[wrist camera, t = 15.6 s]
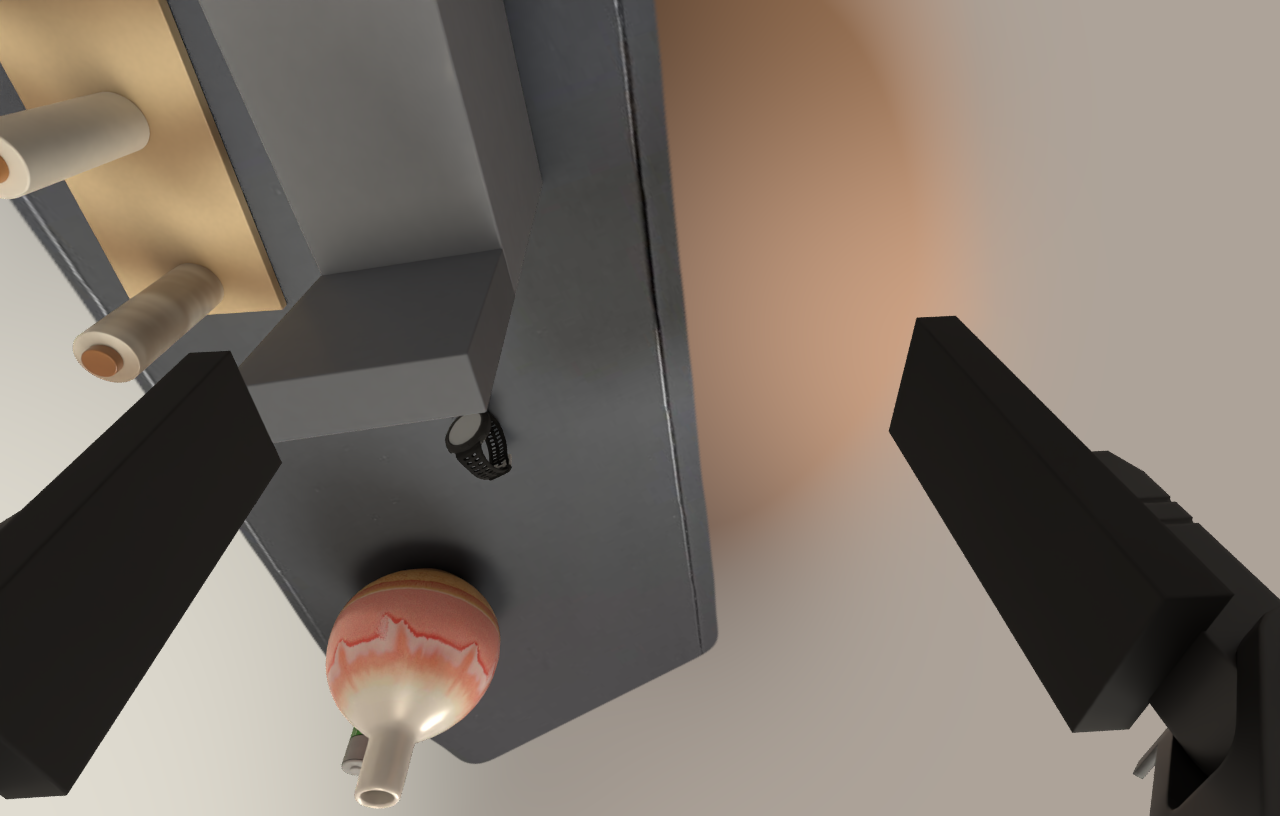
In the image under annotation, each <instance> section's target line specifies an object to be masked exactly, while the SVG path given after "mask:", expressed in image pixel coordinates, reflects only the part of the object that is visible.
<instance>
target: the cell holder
mask: <svg viewBox="0 0 1280 816" xmlns="http://www.w3.org/2000/svg"><path fill="white" fill-rule="evenodd" d="M0 62H1V64H2V66H3V68H4V69H5V71H6V73H7V75H8V77H9V79H10V80H11V82H12V84H13V86H14V88H15V90H16V91H17V93H18V95H19V97H20V99H21V101H22V102H23V104H24V106H25V108H26V110H28V109H33V108H37V107H41V106H45V105H49V104H53V103H57V102H61V101H66V100H70V99H74V98H78V97H82V96H86V95H90V94H95V93H99V92H112V93H116V94H118V95H121V96H123V97H125V98H127V99H128V100H130V101H131V102H132V103H133V104H135V105H136V106H137V107H138V108H139V110H140V111H141V112H142V113H143V115H144V116H145V118H146V120H147V123H148V126H149V130H150V136H149V140H148V143H147V145H146V146H145V147H144V148H143V149H141V150H139V151H136V152H134V153H131V154H129V155H126V156H123V157H121V158H118V159H116V160H113V161H111V162H108V163H106V164H103V165H100V166H98V167H95V168H93V169H90V170H88V171H85V172H82V173H80V174H77V175H75V176H72V177H70V178H67V179H65V181H66V183H67V185H68V187H69V188H70V190H71V192H72V194H73V196H74V198H75V199H76V201H77V203H78V205H79V207H80V208H81V210H82V212H83V214H84V216H85V218H86V219H87V221H88V223H89V225H90V227H91V229H92V230H93V232H94V234H95V236H96V238H97V240H98V241H99V243H100V245H101V247H102V249H103V251H104V252H105V254H106V256H107V258H108V260H109V262H110V263H111V265H112V267H113V269H114V271H115V272H116V274H117V276H118V278H119V280H120V282H121V283H122V285H123V287H124V289H125V291H126V293H127V294H128V296H129V298H130V300H128V301H127V302H125V303H124V304H122V305H121V306H120V307H118V308H117V309H115V310H114V311H112V312H111V313H110V314H108V315H107V316H105V317H104V318H103V319H101V320H100V321H98V322H97V323H95V324H94V325H93V326H91V327H90V328H88V329H87V330H86V331H84V332H83V333H81V334H80V335H78V336H77V338H76V339H75V340H74V343H73V352H74V355H75V357H76V359H77V361H78V362H79V363H80V365H82V367H83V368H85V369H86V370H87V371H88V372H89V373H91V374H92V375H94V376H96V377H98V378H100V379H103V380H106V381H110V382H117V383H118V382H127V381H130V380H133V379H134V378H136V377H137V376H138V375H139V374H140V373H141V372H142V371H143V370H145V369H146V368H147V367H148V366H149V365H150V364H151V363H153V362H154V361H155V360H156V359H157V358H158V357H159V356H160V355H162V354H163V353H164V352H165V351H166V350H167V349H168V348H170V347H171V346H172V345H173V344H174V343H175V342H176V341H178V340H179V339H180V338H181V337H182V336H183V335H184V334H185V333H187V332H188V331H189V330H190V329H191V328H192V327H193V326H195V325H196V324H197V323H198V322H199V321H200V320H201V319H202V318H204V317H205V316H206V315H209V314H224V313H239V312H254V311H269V310H282V309H283V308H284V307H285V306H286V305H287V304H286V301H285V299H284V296H283V293H282V291H281V288H280V286H279V283H278V281H277V278H276V276H275V273H274V271H273V268H272V266H271V263H270V261H269V258H268V256H267V253H266V251H265V248H264V246H263V243H262V240H261V238H260V235H259V233H258V230H257V228H256V225H255V223H254V220H253V218H252V215H251V213H250V210H249V208H248V205H247V203H246V200H245V198H244V195H243V192H242V190H241V187H240V185H239V182H238V180H237V177H236V175H235V172H234V170H233V167H232V165H231V162H230V160H229V157H228V155H227V152H226V150H225V147H224V144H223V142H222V139H221V137H220V134H219V132H218V129H217V127H216V124H215V122H214V119H213V117H212V114H211V112H210V109H209V107H208V104H207V102H206V99H205V97H204V94H203V91H202V89H201V86H200V84H199V81H198V79H197V76H196V74H195V71H194V69H193V66H192V64H191V61H190V59H189V56H188V54H187V51H186V49H185V46H184V43H183V41H182V38H181V36H180V33H179V31H178V28H177V26H176V23H175V21H174V18H173V16H172V13H171V11H170V8H169V6H168V3H167V1H166V0H0Z"/></svg>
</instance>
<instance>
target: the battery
mask: <svg viewBox="0 0 1280 816" xmlns="http://www.w3.org/2000/svg"><path fill="white" fill-rule="evenodd" d="M368 741H369V738H368V737H366V736H365V735H364V734H362V733H361V732H360V731H359V730H358V729H356V728H355V727H354V728H353V732H352V734H351V738H350V741H349V744H348V747H347V750H346V753H345V756H344V759H343V762H342V769H343V771H344V772H346V773H348V774H351V775H357V776H359V774H360V770H361V767H362V763H363V759H364V756H365V752H366V748H367V745H368Z"/></svg>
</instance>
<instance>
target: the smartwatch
mask: <svg viewBox="0 0 1280 816" xmlns="http://www.w3.org/2000/svg"><path fill="white" fill-rule="evenodd" d="M491 421H493V423H491ZM494 424H495V425H496V426H494V427H491V426H493V425H494ZM496 428H497V429H498V430H496V431H495V432H494V431H493V430H494V429H496ZM498 431H499V434H497V435H495V433H496V432H498ZM489 432H491V433H490V434H489ZM490 435H491V436H493V437H491V438H488V436H490ZM499 435H500V436H501V437H500V438H499V439H497V437H498V436H499ZM491 439H494V441H493V442H490V440H491ZM500 439H502V441H501V442H499V443H498V441H499V440H500ZM484 440H485V441H486V444H487V447H488V452H489V461H488V460H487V459H486V457H485V456H484V454H483V451H482V448H481V445H482V443H483V442H484ZM445 443H446V447H447V449H448V451H449V452H450V453H455V454H456V458H457V460H458V461H459V462H460V463H461V464H462V465H463V466H464V467H465V468H466V469H468V470H469V471H470V472H471V473H472V474H473V475H474V476H476V477H478V478H480V479H483V480H487V479H489V480H493V479H496V478H498V477H500V476H502V475H504V474H506V473H508V472H509V471H510V470H511V468H512V466H511V460H512V457H511V454H507V444H506V439H505V436H504V433H503V430H502V428H501V426H500V424H499V422H498V421H497V420H496V419H495V418H494V417H493V416H492V415H491V414H490V413H489V412H488V411H486V412H485V413H478V414H471V415H464V416H459V417H458V418H456V419H455V421H454V422H453V423H452V424H451V426H450V427H449V430H448V432H447V435H446V438H445ZM492 443H495V445H494V446H492V445H491V444H492ZM502 443H503V445H501V446H500V447H499V445H500V444H502ZM494 447H496V449H493V450H492V448H494ZM502 447H503V448H502ZM500 448H502V449H501V450H500ZM503 450H504V451H503ZM493 451H496V452H495V453H493ZM501 451H503V452H501ZM500 452H501V453H500ZM474 453H476V455H475V456H473V454H474ZM495 454H496V456H493V455H495ZM502 454H503V455H502ZM501 455H502V456H501ZM467 457H469V458H468V459H466V458H467ZM508 457H509V458H508ZM476 458H479V459H478V460H476ZM494 458H496V459H494ZM493 459H494V460H493ZM502 461H503V463H502V464H501V462H502ZM468 462H472V463H468ZM480 462H483V463H482V464H479V463H480ZM497 464H498V466H497ZM506 464H507V465H506ZM485 465H486V466H485ZM472 466H476V467H473V468H472ZM484 466H485V467H484ZM483 467H484V468H483ZM477 469H480V470H477ZM487 469H488V470H487ZM474 470H477V471H474Z"/></svg>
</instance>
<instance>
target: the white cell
mask: <svg viewBox="0 0 1280 816" xmlns="http://www.w3.org/2000/svg"><path fill="white" fill-rule="evenodd" d="M149 136H150V130H149V126H148V123H147V120H146V118H145V116H144V115H143V113H142V112H141V111H140V110H139V108H138V107H137V106H136V105H135V104H133V103H132V102H131V101H130V100H128V99H127V98H125V97H123V96H121V95H118V94H116V93H112V92H99V93H95V94H90V95H86V96H82V97H78V98H74V99H70V100H66V101H61V102H57V103H53V104H49V105H45V106H41V107H37V108H33V109H28V110H24V111H20V112H16V113H12V114H8V115H4V116H0V198H3V199H14V198H18V197H21V196H24V195H26V194H29V193H31V192H34V191H36V190H39V189H41V188H44V187H47V186H49V185H52V184H54V183H57V182H59V181H62V180H65V179H67V178H70V177H72V176H75V175H77V174H80V173H82V172H85V171H88V170H90V169H93V168H95V167H98V166H100V165H103V164H106V163H108V162H111V161H113V160H116V159H118V158H121V157H123V156H126V155H129V154H131V153H134V152H136V151H139V150H141V149H143V148H144V147H145V146H146V145H147V143H148V140H149Z"/></svg>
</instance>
